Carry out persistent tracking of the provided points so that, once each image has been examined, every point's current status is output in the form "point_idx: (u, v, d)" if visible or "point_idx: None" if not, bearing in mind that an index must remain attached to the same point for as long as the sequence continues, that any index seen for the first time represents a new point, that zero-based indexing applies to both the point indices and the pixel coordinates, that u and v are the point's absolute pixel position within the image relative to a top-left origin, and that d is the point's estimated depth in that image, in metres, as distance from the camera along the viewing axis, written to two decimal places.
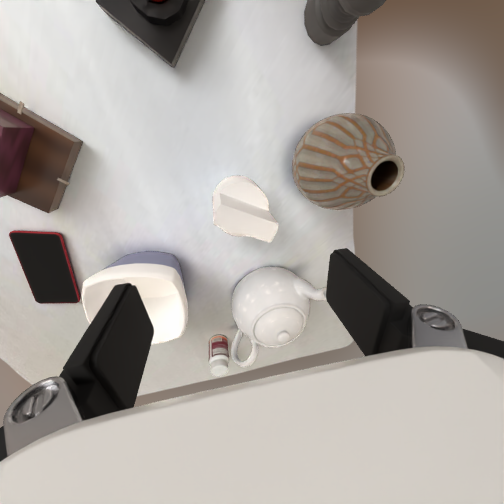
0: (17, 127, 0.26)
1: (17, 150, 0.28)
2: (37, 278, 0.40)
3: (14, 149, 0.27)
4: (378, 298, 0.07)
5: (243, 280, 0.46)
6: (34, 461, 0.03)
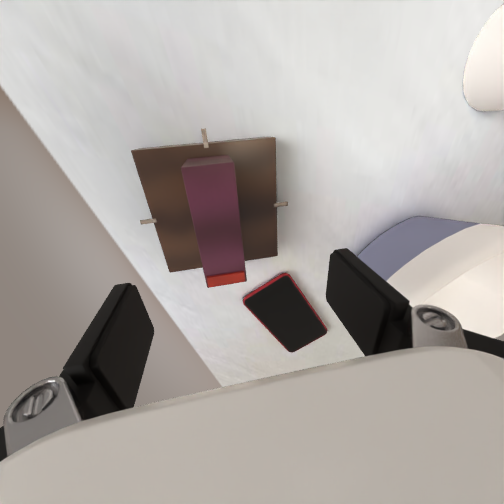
0: (231, 159, 0.16)
1: None
2: (283, 330, 0.33)
3: None
4: (378, 298, 0.07)
5: None
6: (34, 461, 0.03)
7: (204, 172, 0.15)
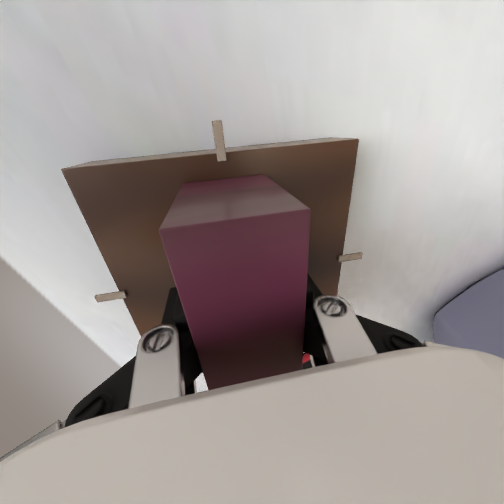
0: (285, 190, 0.07)
1: None
2: None
3: None
4: None
5: None
6: (34, 461, 0.03)
7: (227, 238, 0.05)
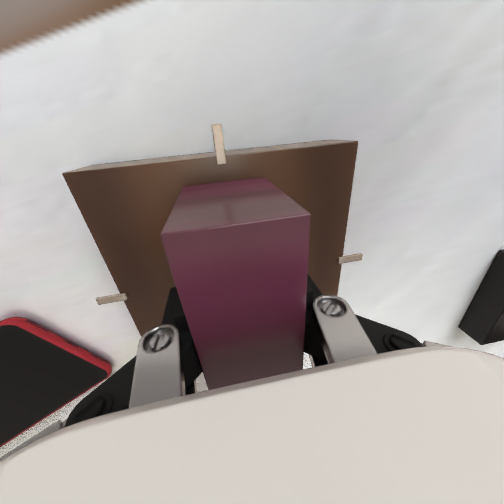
0: (285, 194, 0.07)
1: None
2: None
3: None
4: None
5: None
6: (34, 461, 0.03)
7: (228, 242, 0.05)
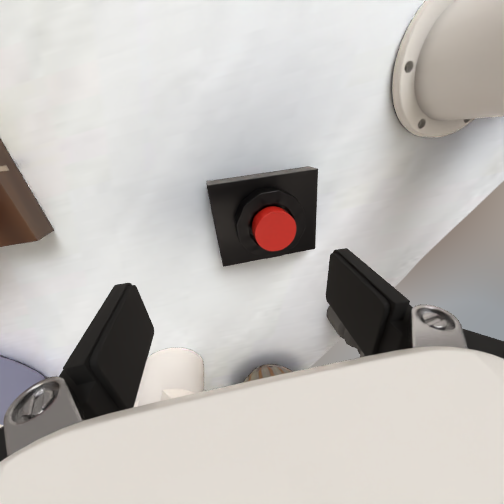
0: None
1: None
2: None
3: None
4: (378, 298, 0.07)
5: None
6: (34, 461, 0.03)
7: None
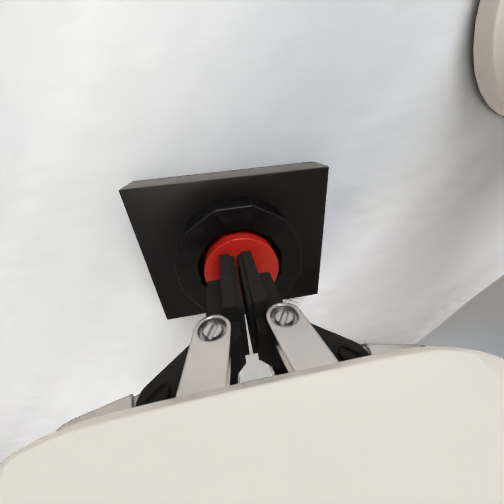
0: None
1: None
2: None
3: None
4: (246, 297, 0.08)
5: None
6: (34, 461, 0.03)
7: None
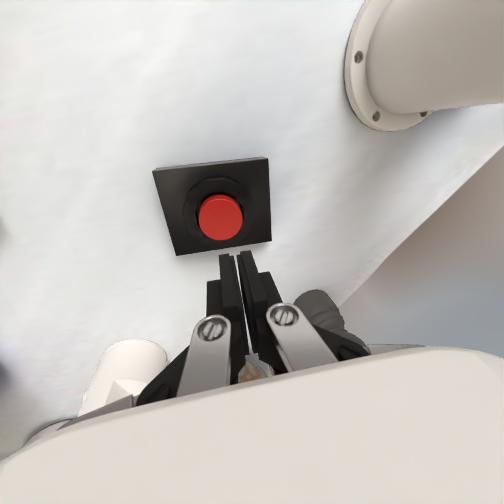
0: None
1: None
2: None
3: None
4: (246, 297, 0.08)
5: None
6: (34, 461, 0.03)
7: None
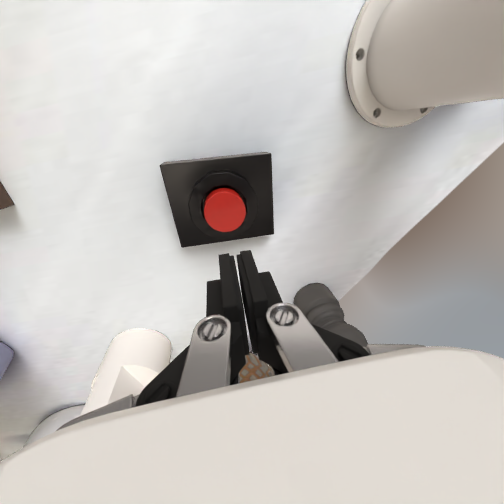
0: None
1: None
2: None
3: None
4: (246, 297, 0.08)
5: (75, 416, 0.36)
6: (34, 461, 0.03)
7: None
